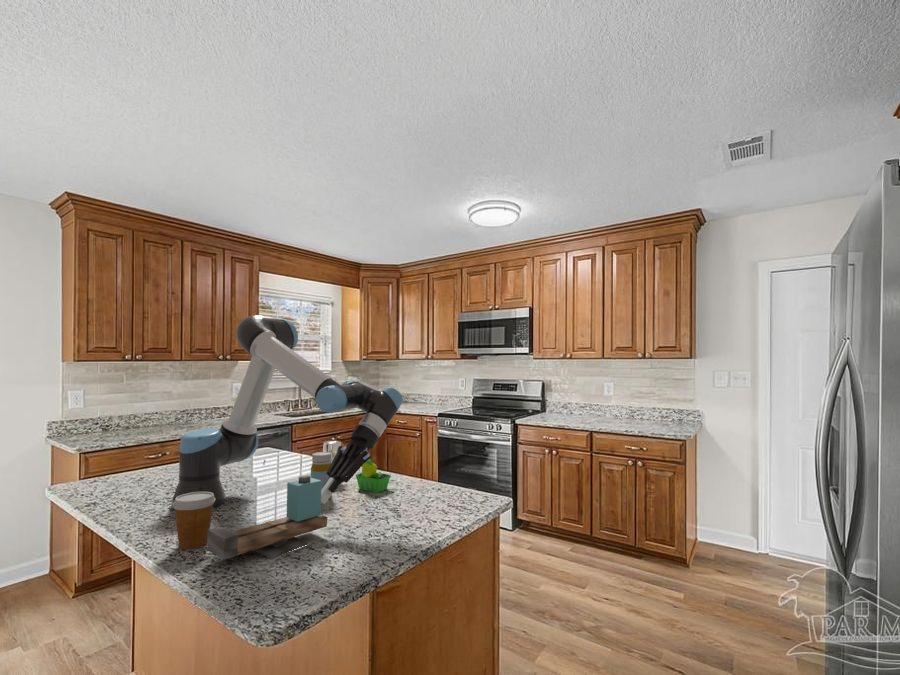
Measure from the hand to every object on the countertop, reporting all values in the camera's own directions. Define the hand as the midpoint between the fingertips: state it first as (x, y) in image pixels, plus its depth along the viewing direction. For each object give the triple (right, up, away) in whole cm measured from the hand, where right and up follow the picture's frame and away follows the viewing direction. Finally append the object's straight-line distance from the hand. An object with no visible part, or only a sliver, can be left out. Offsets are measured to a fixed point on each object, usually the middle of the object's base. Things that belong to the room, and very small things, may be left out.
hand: (320, 501), depth 126 cm
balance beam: (-9, -8, -11) cm, 16 cm away
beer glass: (-10, -11, +54) cm, 56 cm away
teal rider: (-3, -5, -4) cm, 7 cm away
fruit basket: (+7, -11, +42) cm, 44 cm away
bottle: (-8, -10, +31) cm, 34 cm away
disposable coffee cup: (-29, -8, -9) cm, 32 cm away
